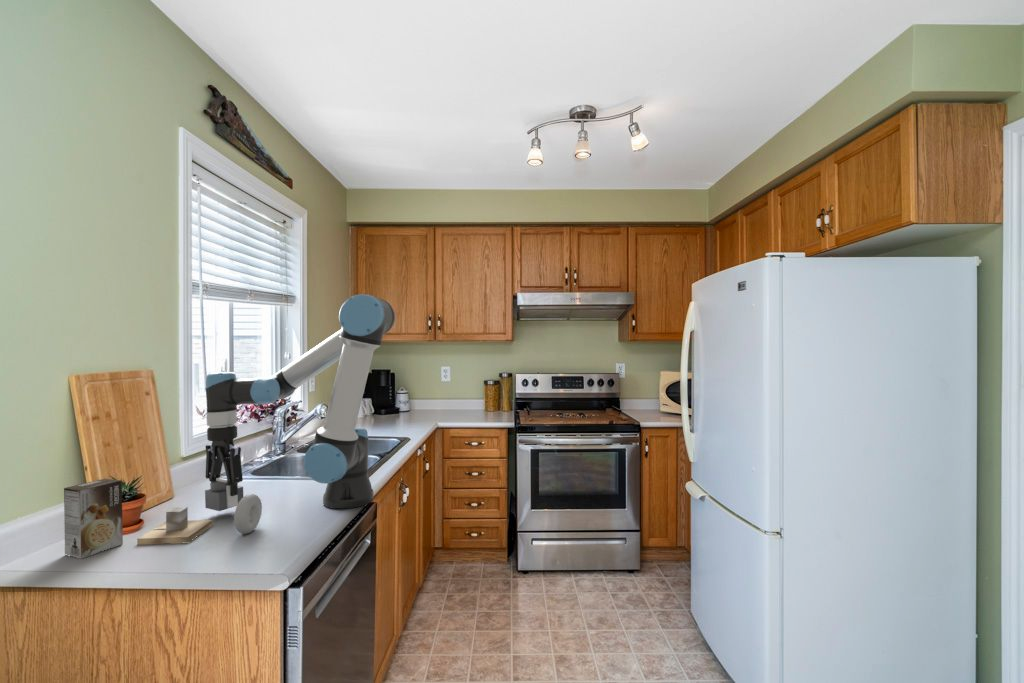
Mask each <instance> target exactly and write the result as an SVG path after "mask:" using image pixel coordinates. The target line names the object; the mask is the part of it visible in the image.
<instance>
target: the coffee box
mask: <svg viewBox="0 0 1024 683" xmlns="http://www.w3.org/2000/svg"><path fill="white" fill-rule="evenodd" d="M63 499H64V500H63V505H64V506H63V507H64V508H63V509H64V512H63V513H64V515H63V516H64V520H63V521H64V523H63V524H64V555H65V554H67V555H70V556H73V557H72V558H75V557H76V559H79V558H83V559H85V558H88V557H91V556H93V554H94V555H96V554H95V553H97V554H99V553H101V552H100V551H102V552H104V550H105V551H108V550H111V549H113V548H116V547H118V546H122V545H123V544H124V539H123V538H124V533H123V531H124V530H123V480H122V479H114V478H101V479H97V480H93V481H89V482H88V481H87V482H84V483H79V484H75V485H71V486H68V487H64V488H63ZM110 548H111V549H110ZM107 549H108V550H107ZM98 552H99V553H98ZM90 555H91V556H90ZM70 556H69V557H70Z"/></svg>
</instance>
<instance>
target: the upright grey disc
mask: <svg viewBox="0 0 1024 683" xmlns="http://www.w3.org/2000/svg"><path fill="white" fill-rule="evenodd" d="M262 504H263V503H262V500H261V498H260V497H259V495H257V494H255V493H249V494H248V493H247V494H246V495H245V494H244V495H243V498H242V499H241V500H240V502H239V503H238V505H237V506H235V507H236V508H235V512H234V516H233V521H234V527H235V529H236V530H237V532H239V533H240V534H244V535H247V534H250V533H251V532H253V531H254V530H255V529H256V528H257V526H258V525H259V522H260V519H261V518H262V510H263V506H262Z"/></svg>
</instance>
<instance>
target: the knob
mask: <svg viewBox="0 0 1024 683" xmlns="http://www.w3.org/2000/svg"><path fill="white" fill-rule="evenodd" d="M227 483H228V480H227V478H223V477H222V478H216V481H214V482H211V481H210V485H209V487H210V489H206V490H204V498H205V499H204V500H205V502H204V503H205V504H204V505H205V506H204V507H205V509H208V510H213V511H217V512H221V511H225V510H228V509H229V508H227V493H226V484H227ZM238 484H239V483H238ZM238 484H237V489H238V494H237V496H238V503H239V502H240V500H241V499H242V498H243V497H244V486H241V485H238ZM232 508H233V507H231V509H232Z"/></svg>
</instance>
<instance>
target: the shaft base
mask: <svg viewBox="0 0 1024 683" xmlns="http://www.w3.org/2000/svg"><path fill="white" fill-rule="evenodd" d="M188 510H189V509H188V506H187V507H186V506H182V507H181V506H180V507H179V506H178V507H173V508H171V509H169V510H167V511H166V512H165V522H163V523H161V524H159V525H158V526H156V527H155V528H153V529H151V530H150V531H147V532H146V533H144V534H143V535H141V536H139V537H138V538H137V539H136V540H137V541H136V543H137V544H136V545H137V546H138V545H139V546H140V545H142V546H143V545H162V544H163V545H165V544H164V543H170V544H184V543H183V542H189V543H191V540H192V539H193V540H195V539H196V538H197V537H198V535H199V534H200V535H202V534H203V533H204V532H206V531H207V530H208V529H210V528H211V527H213V526H214V519H197V520H196V519H195V520H188V516H189V515H188V514H189V512H188ZM212 525H213V526H212ZM209 527H210V528H209ZM206 529H207V530H206ZM205 530H206V531H205ZM202 532H203V533H202ZM200 535H199V536H200ZM196 536H197V537H196ZM195 537H196V538H195ZM193 540H192V541H193Z"/></svg>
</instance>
